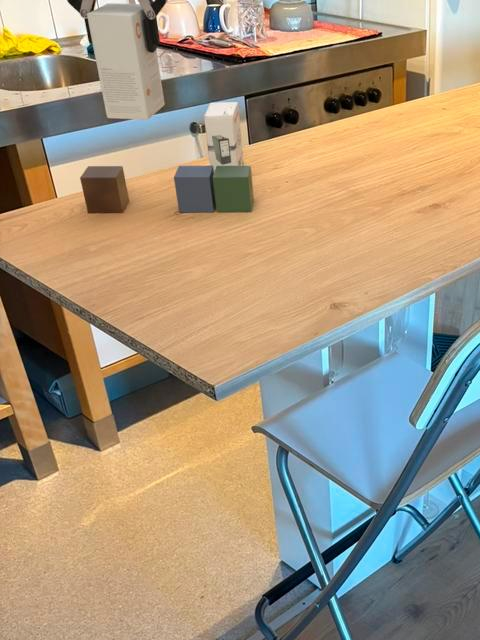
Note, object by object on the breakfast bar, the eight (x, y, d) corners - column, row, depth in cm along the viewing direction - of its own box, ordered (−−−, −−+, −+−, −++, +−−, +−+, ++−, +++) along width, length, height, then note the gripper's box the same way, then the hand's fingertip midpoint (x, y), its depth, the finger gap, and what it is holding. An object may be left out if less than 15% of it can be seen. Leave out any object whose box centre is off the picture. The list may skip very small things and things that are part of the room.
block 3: (216, 212, 130) (212, 177, 126) (220, 200, 134) (216, 165, 131) (251, 212, 130) (248, 176, 127) (253, 199, 134) (250, 165, 131)
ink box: (217, 172, 144) (209, 100, 137) (245, 172, 145) (238, 100, 137) (212, 189, 138) (202, 114, 130) (241, 189, 138) (233, 115, 130)
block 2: (179, 212, 130) (173, 177, 126) (183, 200, 134) (178, 165, 130) (213, 212, 130) (209, 177, 126) (217, 200, 134) (213, 165, 131)
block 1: (87, 213, 129) (79, 177, 125) (95, 200, 133) (87, 166, 130) (122, 212, 129) (115, 177, 126) (129, 200, 133) (122, 165, 130)
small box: (124, 103, 122) (106, 2, 113) (165, 105, 121) (151, 4, 113) (105, 118, 116) (85, 12, 107) (148, 120, 115) (132, 14, 107)
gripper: (19, -110, 99) (55, 55, 110) (164, -107, 99) (184, 57, 111) (37, -114, 104) (69, 44, 116) (173, -111, 105) (192, 45, 117)
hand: (125, 49), depth 113 cm, fingers closed on small box, 6 cm apart
